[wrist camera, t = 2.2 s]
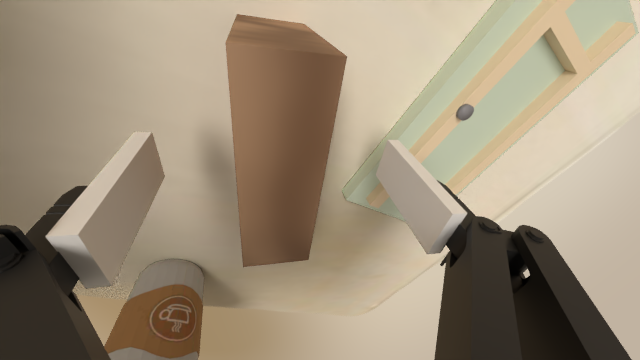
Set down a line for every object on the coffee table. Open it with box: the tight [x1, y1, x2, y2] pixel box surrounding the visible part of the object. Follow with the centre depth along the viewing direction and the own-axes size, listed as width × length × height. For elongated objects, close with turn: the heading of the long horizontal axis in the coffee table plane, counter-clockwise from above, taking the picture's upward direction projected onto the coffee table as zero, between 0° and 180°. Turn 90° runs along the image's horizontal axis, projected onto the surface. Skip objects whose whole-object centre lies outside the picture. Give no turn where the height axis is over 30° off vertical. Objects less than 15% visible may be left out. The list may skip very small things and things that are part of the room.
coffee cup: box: [104, 259, 204, 360], centre depth 22 cm, size 8×8×15 cm
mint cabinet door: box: [342, 0, 639, 221], centre depth 22 cm, size 12×24×3 cm, turn 147°
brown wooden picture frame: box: [226, 14, 347, 267], centre depth 15 cm, size 4×12×9 cm, turn 172°
